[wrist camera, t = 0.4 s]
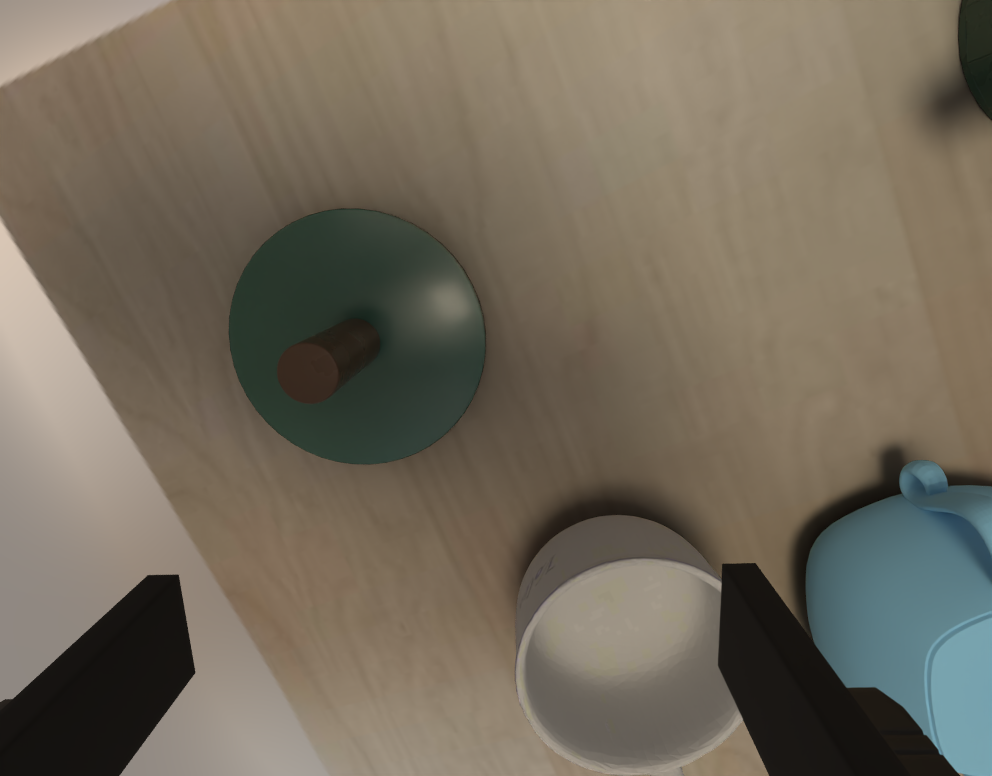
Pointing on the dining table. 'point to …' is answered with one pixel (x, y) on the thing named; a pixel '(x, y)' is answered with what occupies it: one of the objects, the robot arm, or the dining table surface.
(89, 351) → the dining table surface
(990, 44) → the pot
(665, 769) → the teacup
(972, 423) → the dining table surface
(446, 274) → the pot lid
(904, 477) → the teapot
